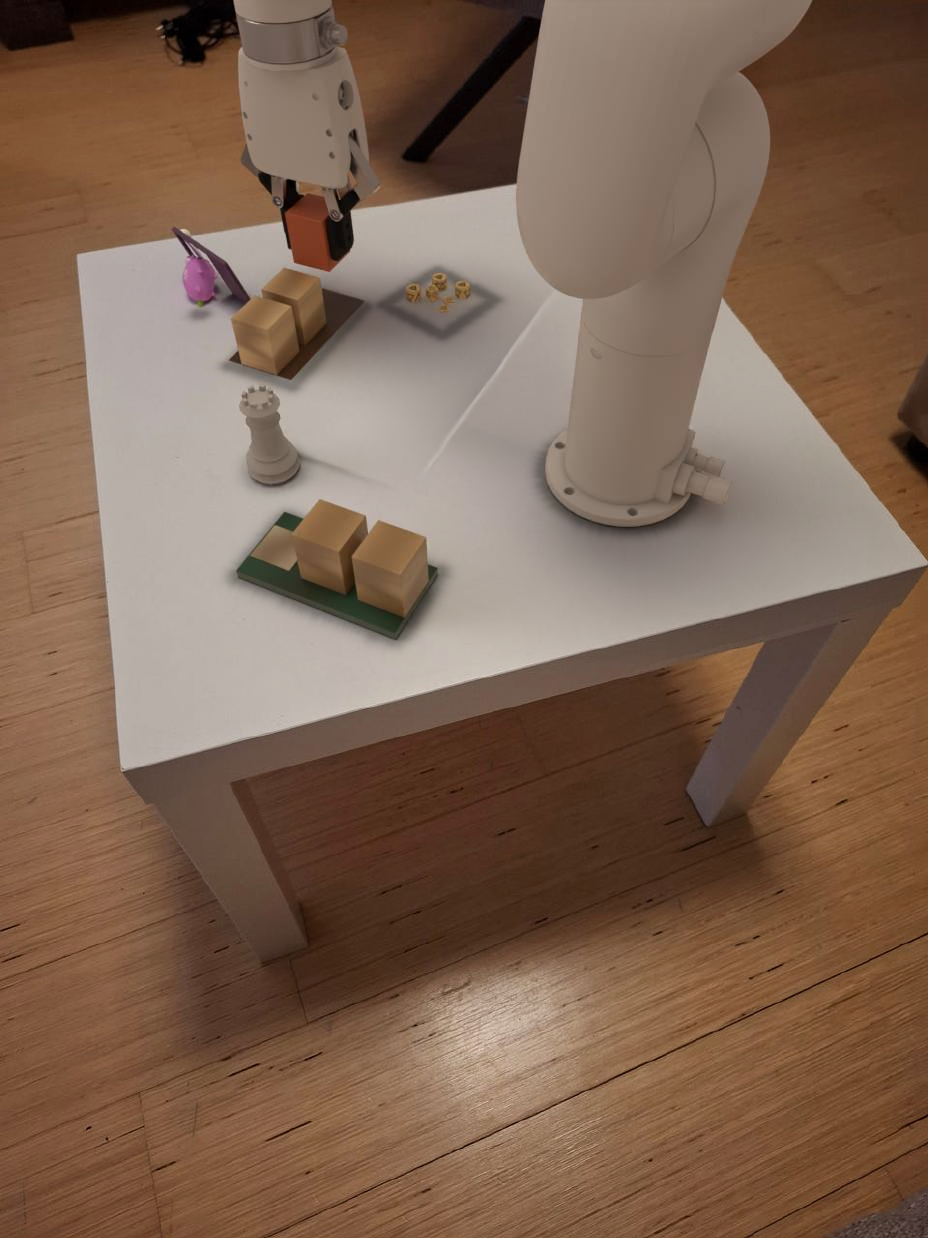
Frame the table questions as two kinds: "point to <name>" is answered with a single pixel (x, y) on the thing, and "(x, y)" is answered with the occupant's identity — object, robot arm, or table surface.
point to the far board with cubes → (288, 323)
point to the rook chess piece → (267, 438)
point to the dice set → (433, 291)
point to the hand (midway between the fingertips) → (320, 246)
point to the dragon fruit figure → (206, 271)
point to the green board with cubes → (344, 566)
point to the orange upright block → (310, 233)
